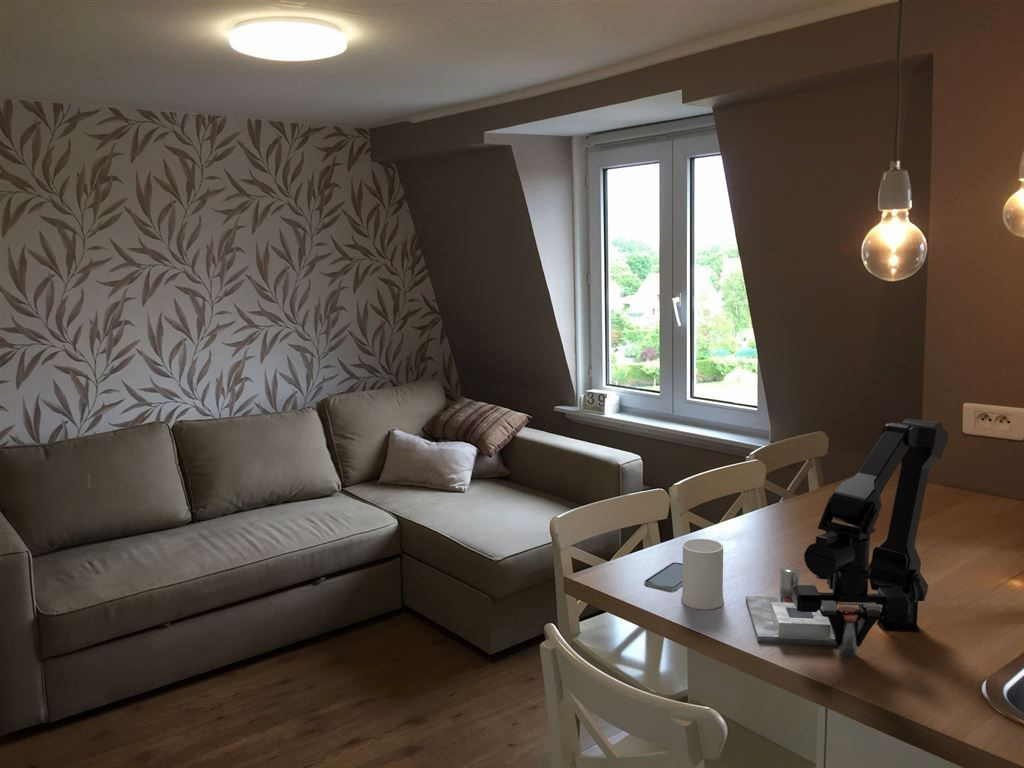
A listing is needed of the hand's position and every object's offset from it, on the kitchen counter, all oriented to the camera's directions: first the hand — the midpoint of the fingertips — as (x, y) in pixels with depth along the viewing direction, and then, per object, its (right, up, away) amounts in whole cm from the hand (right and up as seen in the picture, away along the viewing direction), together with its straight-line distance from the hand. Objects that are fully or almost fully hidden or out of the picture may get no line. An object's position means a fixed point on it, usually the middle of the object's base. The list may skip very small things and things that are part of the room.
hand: (847, 645), depth 150 cm
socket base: (-5, 0, +13) cm, 14 cm away
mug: (-20, +2, +25) cm, 32 cm away
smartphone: (-24, +3, +37) cm, 44 cm away
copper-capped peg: (0, -2, 0) cm, 2 cm away
